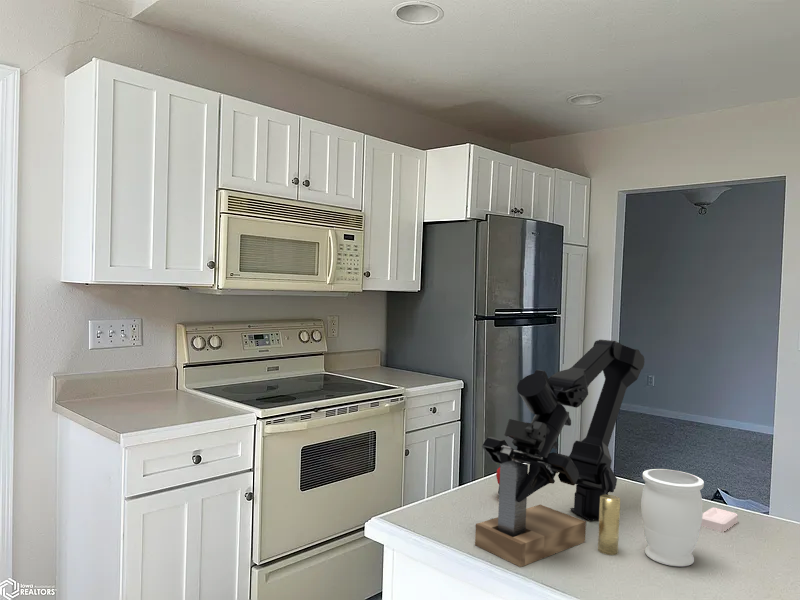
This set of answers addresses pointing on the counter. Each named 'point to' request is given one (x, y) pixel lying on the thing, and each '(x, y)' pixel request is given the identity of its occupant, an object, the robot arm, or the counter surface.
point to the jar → (671, 515)
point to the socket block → (532, 536)
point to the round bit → (609, 524)
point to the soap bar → (719, 519)
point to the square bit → (512, 498)
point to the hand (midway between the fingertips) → (508, 497)
